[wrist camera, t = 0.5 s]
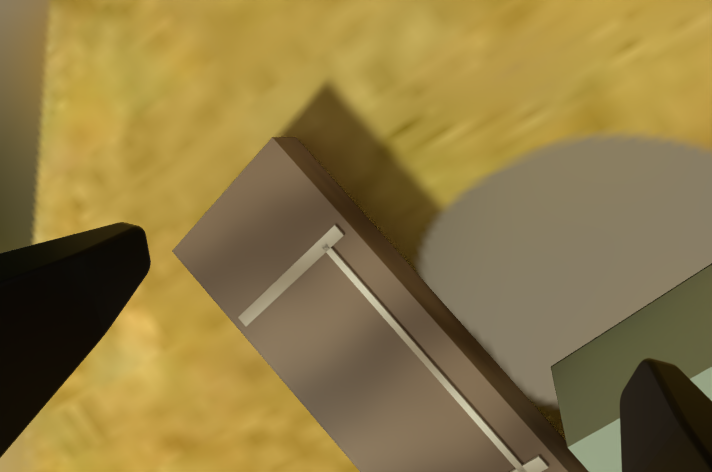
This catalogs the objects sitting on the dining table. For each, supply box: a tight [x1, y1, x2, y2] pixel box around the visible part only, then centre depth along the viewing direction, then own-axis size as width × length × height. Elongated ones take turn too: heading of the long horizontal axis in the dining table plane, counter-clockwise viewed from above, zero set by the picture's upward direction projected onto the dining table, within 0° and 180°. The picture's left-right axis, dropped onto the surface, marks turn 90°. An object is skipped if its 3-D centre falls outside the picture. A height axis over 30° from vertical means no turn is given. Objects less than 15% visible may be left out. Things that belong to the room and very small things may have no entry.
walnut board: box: [172, 137, 589, 472], centre depth 22 cm, size 22×8×3 cm, turn 45°
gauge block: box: [551, 263, 712, 472], centre depth 17 cm, size 4×9×6 cm, turn 135°
